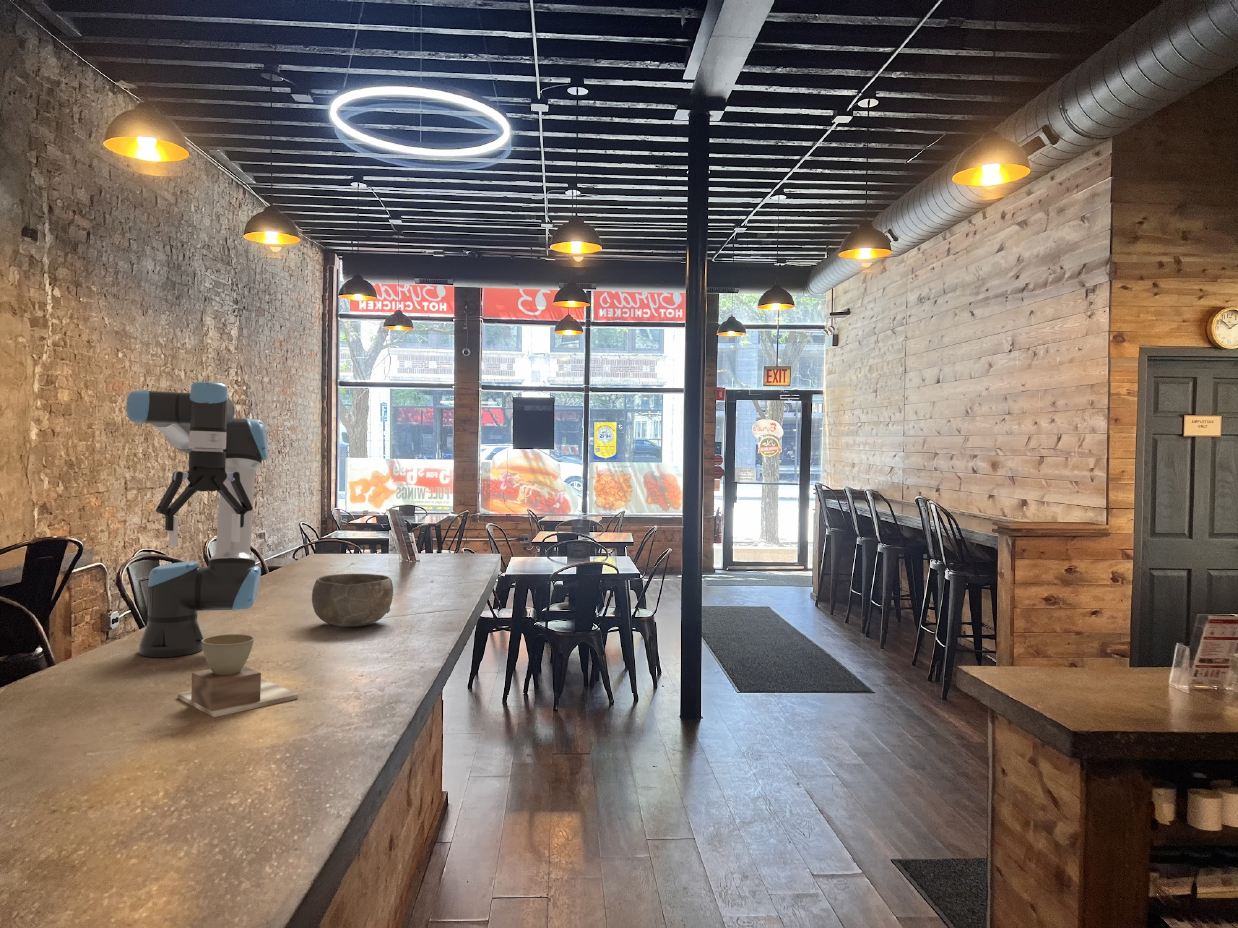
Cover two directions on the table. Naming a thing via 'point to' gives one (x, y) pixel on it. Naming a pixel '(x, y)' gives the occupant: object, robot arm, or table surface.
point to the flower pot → (227, 652)
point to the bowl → (352, 598)
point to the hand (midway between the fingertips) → (205, 543)
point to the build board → (267, 697)
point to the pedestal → (225, 688)
